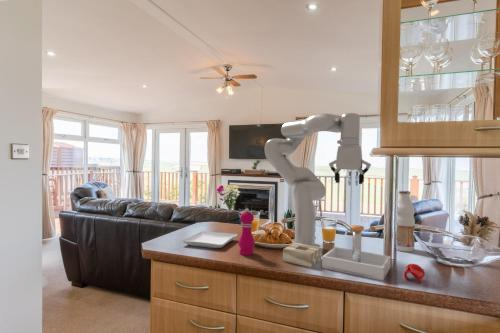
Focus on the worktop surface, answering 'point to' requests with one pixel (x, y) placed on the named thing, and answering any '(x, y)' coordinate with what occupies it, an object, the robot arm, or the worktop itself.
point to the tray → (357, 263)
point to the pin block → (302, 254)
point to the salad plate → (209, 239)
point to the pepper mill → (246, 234)
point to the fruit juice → (405, 222)
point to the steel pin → (356, 243)
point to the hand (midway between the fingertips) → (348, 183)
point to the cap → (414, 271)
